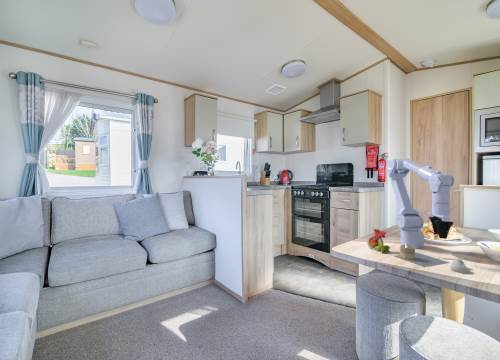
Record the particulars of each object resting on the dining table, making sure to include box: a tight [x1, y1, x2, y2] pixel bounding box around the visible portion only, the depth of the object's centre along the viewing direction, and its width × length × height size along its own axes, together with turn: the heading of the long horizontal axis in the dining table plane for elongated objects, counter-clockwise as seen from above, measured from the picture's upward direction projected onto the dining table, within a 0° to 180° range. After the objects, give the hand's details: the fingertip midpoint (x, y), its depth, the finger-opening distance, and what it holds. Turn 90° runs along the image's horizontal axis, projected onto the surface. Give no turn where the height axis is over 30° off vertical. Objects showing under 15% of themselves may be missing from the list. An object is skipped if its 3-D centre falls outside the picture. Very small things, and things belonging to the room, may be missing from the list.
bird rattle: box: [367, 228, 391, 254], centre depth 109 cm, size 6×11×9 cm
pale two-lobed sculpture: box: [450, 258, 470, 274], centre depth 86 cm, size 4×8×5 cm
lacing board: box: [393, 252, 450, 268], centre depth 97 cm, size 14×13×1 cm
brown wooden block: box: [399, 244, 416, 260], centre depth 98 cm, size 5×5×4 cm
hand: (440, 236), depth 98 cm, fingers open, 7 cm apart
